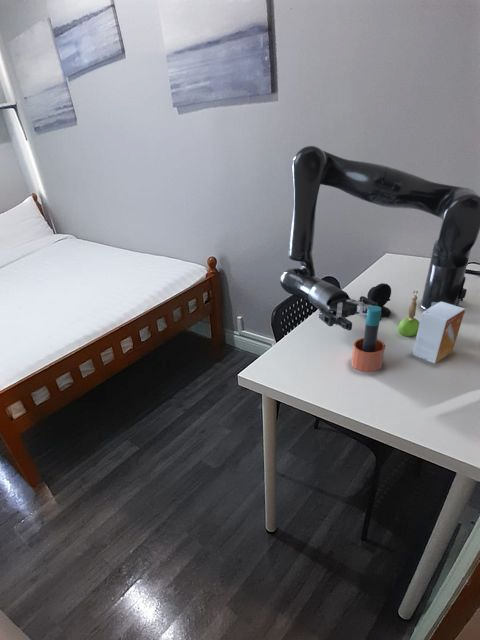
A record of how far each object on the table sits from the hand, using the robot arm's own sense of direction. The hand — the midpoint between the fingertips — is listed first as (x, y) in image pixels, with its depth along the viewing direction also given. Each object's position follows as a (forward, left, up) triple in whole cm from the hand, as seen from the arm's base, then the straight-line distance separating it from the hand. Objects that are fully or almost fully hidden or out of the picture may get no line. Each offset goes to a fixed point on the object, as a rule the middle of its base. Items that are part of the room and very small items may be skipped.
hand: (365, 322), depth 100 cm
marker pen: (0, +2, -11) cm, 11 cm away
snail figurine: (-19, -5, -12) cm, 23 cm away
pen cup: (0, +2, -12) cm, 12 cm away
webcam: (-20, -19, -12) cm, 30 cm away
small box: (-17, +6, -12) cm, 22 cm away
